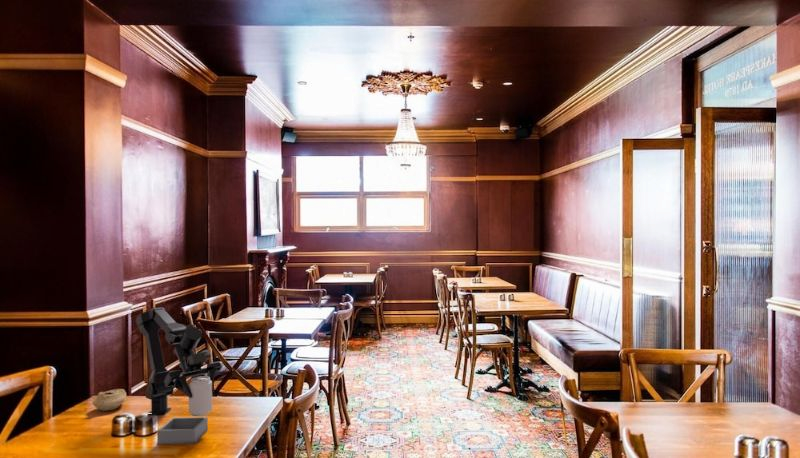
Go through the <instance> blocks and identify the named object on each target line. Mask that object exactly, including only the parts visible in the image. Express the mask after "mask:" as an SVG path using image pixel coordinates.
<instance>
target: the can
mask: <svg viewBox="0 0 800 458" xmlns="http://www.w3.org/2000/svg"><path fill="white" fill-rule="evenodd" d="M188 386H189V388H190V391H191V393H192V398H189V397H188V413H189V414H190V415H191V416H192V417H204V416H206V415H208V414H209V413H211V411H212V410H213V393H212V381H211V380H210V377H208V376H206V375H203V376H202V375H198V376H193V377H191V378H190V382H189V383H188Z"/></svg>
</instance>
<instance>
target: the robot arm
mask: <svg viewBox="0 0 800 458" xmlns="http://www.w3.org/2000/svg"><path fill="white" fill-rule="evenodd" d="M135 319H136V320H135V323H136V325H137V327H138V331H139V332H140V333H141V334H142V335H143V336H144V337H145V342H146V349H147V354H148V359H149V364H150V368H151V374H150V377H149V379H148V385H147V387H146V389H145V392H144V393H145V398H146V399H148V400H149V401H150V409H151V410H150V411H148V413H152V414H157V415H158V416H160V415H166V414H167V413H168V412H169V411H170V410H172V407H168V399H169V397H168V396H170V395H171V396H172V395H173V394H174V390H175V389H176V390H178V391H180V392H181V393H183V394H184V395H186V396H187V397H188V399H189V398H192V393H191V391H190V388H189V383H188V382H187V378H194V377H198V376H202V375H204V376H208V377H210V380H211V381H212V394H213V393H214V391H215V377H217V376H218V375H219V373H220V371H221V370H222V368H223V365H222V362H220V361H214V362H210V363H208V364H207V366H206V367H203V366H205V365H204V362H208V360H209V359H211V352H210V350H209V349H204V350H203V351H201V352H197V353H195V350H194V349H195V348H196V347H197V345H198V343H199V342H200V340H201V339H202V336H203V333H202V330H201V329H199V328H198V327H195V326H194V325H193V324H188V325H187V324H186V325H185V324H183V323H179V322H176V320H174V318H172V316H171V315H170V314H169V313H168V312H166V309H165V307H163V306H159V307H152V308H150V309H149V310H147V311H145V312H141V313H139V315H137V317H136V318H135ZM160 329H162V331H163V332H165V335H164V339H165V340H166V342H167V343H168V344H169V345H171V346H172V345H175V346H174V349H173V355H174V356H175V355H176V357H177V360H178V362H179V365H178V367H179V369H176V370H168V369H167V368H166V366H165V360H164V355H163V350H162V345H161V338H160V334H159V332H160ZM202 367H203V368H202ZM157 415H156V416H157Z"/></svg>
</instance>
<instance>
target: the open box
mask: <svg viewBox="0 0 800 458" xmlns="http://www.w3.org/2000/svg"><path fill="white" fill-rule="evenodd" d="M208 418H209V417H208V416H192V417H191V416H188V417H186V416H185V417H172V418H170V419H169V420H167V422H165V423H164V424H163V425H162V426H161V427H160V428H159V429H158V430H157V434H156V435H157V441H156V443H157V445H158V446H160V445H161V446H162V445H163V446H164V445H193V444H196V443H197V442H199V440H200V439H201V438H202V437H203V436H204V435H205V433H206V432H207V431H208V429H209V427H208V423H209V422H208V420H209V419H208Z"/></svg>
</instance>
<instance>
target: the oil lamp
mask: <svg viewBox="0 0 800 458" xmlns="http://www.w3.org/2000/svg"><path fill="white" fill-rule="evenodd" d="M126 399H127V392H126V390H125V389H124V388H116V389H111V390H107V391H100V392H98V394H97V396H96V397H95V398H94V400H93V401H92V403H91V404H92V405H93V406H94V407H95V408H96V409H98V410H99V411H103V412H105V411H112V410H116V409H118V408H119V407H120V406H121V405H122V404H123V403H124V402H125V400H126Z"/></svg>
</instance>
